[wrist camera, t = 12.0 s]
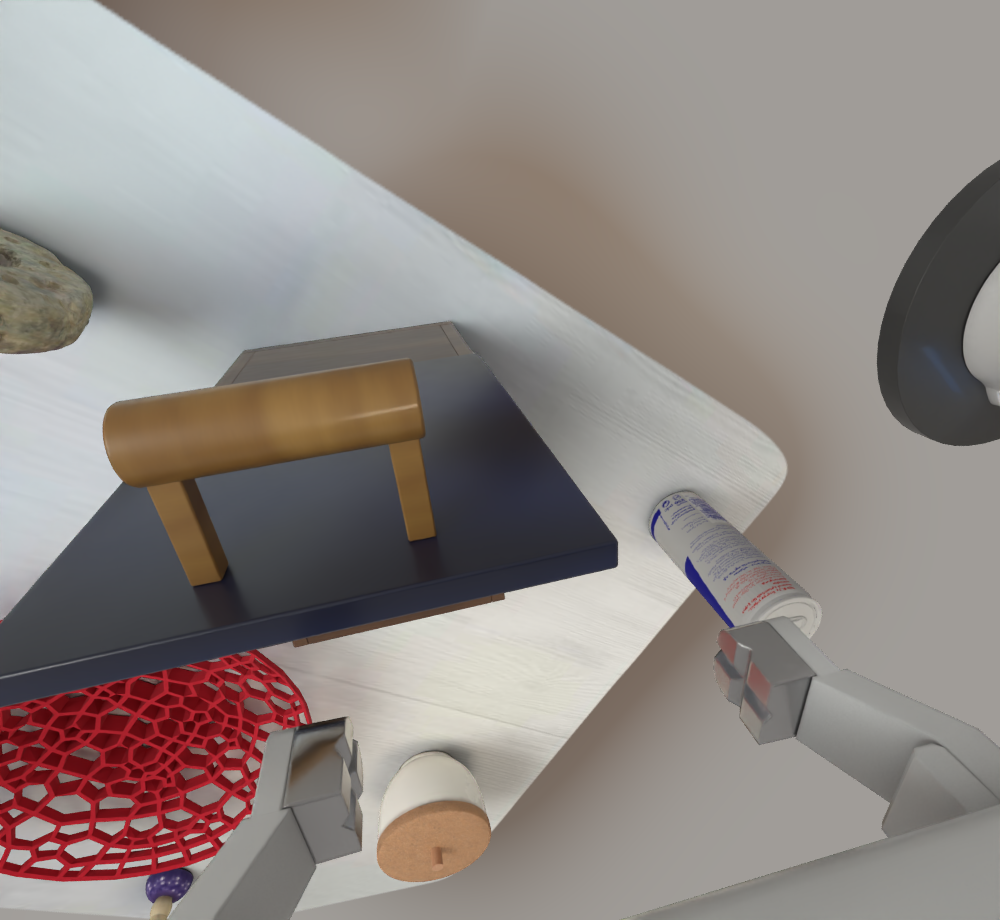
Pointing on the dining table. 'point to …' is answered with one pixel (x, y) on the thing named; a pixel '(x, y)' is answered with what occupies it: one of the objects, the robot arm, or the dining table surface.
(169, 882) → the toy lamp
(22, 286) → the stone ring
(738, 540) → the beverage can
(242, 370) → the chest
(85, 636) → the lid
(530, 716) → the dining table surface
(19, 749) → the bowl
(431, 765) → the trinket box
